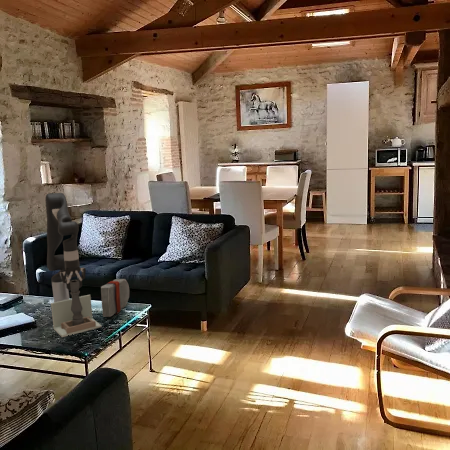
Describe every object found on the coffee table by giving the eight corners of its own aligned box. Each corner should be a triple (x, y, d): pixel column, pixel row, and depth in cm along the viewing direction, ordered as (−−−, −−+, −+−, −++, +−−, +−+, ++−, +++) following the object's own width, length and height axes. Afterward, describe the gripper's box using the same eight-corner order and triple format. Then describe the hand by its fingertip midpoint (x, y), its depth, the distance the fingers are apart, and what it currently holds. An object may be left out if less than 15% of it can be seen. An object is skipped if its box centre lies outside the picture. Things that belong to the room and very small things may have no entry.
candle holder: (84, 325, 280) (79, 282, 275) (72, 327, 278) (67, 283, 273) (84, 322, 286) (79, 279, 281) (72, 323, 284) (68, 280, 279)
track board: (53, 328, 284) (50, 303, 281) (92, 319, 296) (89, 294, 293) (61, 337, 272) (58, 310, 269) (101, 326, 284) (99, 301, 281)
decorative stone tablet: (109, 286, 290) (130, 275, 319) (99, 285, 292) (120, 275, 321) (111, 319, 292) (131, 305, 321) (100, 319, 293) (121, 305, 323)
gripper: (82, 254, 282) (85, 284, 285) (55, 259, 274) (59, 289, 277) (86, 257, 276) (89, 287, 279) (60, 262, 268) (63, 292, 271)
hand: (74, 288), depth 278 cm, fingers closed on candle holder, 5 cm apart
